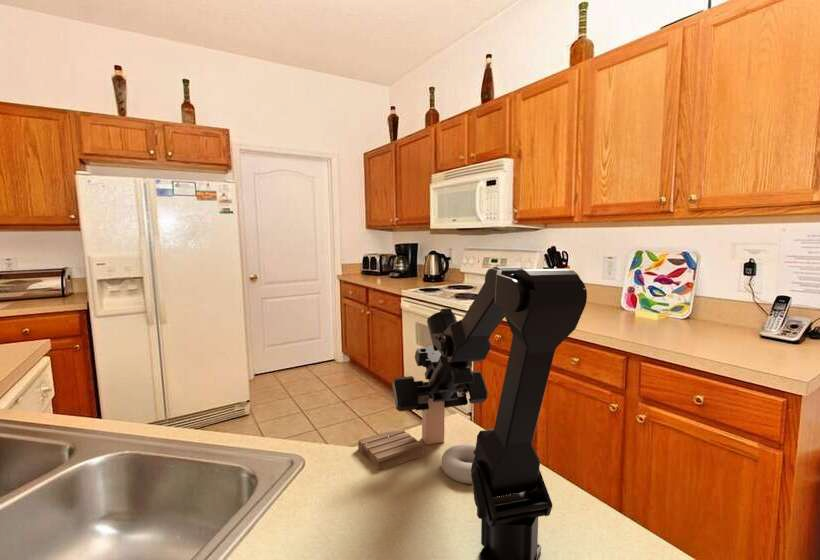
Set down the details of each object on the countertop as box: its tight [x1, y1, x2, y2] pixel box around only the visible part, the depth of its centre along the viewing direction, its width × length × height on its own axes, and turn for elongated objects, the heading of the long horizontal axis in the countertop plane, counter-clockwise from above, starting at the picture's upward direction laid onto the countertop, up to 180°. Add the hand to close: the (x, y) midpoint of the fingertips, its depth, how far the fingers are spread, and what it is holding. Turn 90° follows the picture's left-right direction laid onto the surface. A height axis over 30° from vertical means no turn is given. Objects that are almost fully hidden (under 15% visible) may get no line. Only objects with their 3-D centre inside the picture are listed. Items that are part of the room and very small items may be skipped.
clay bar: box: [421, 394, 446, 445], centre depth 85 cm, size 3×4×11 cm
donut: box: [440, 443, 476, 485], centre depth 73 cm, size 10×4×10 cm
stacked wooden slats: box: [357, 427, 425, 471], centre depth 80 cm, size 9×10×2 cm
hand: (431, 407), depth 86 cm, fingers closed on clay bar, 4 cm apart
